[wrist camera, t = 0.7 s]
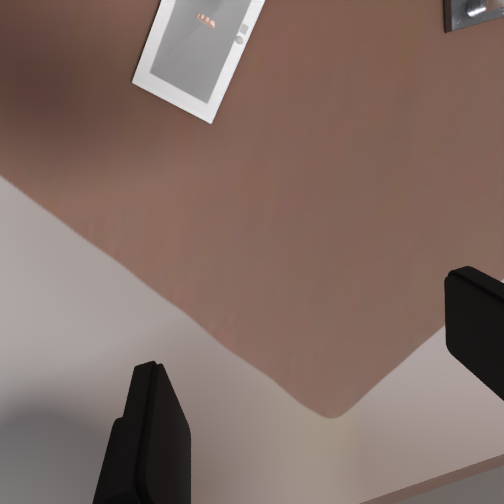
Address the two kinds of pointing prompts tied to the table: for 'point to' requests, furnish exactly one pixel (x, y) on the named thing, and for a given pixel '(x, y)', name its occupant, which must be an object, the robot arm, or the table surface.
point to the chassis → (470, 12)
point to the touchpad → (195, 51)
